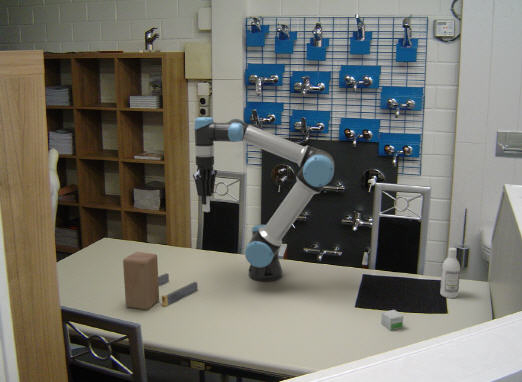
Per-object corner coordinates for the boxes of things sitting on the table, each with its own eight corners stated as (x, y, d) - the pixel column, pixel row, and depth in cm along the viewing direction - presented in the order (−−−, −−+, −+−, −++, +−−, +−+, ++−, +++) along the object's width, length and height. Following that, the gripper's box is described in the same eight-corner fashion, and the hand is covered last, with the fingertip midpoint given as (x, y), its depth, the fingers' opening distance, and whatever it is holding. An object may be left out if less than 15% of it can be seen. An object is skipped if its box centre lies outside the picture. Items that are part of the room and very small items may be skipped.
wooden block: (147, 311, 209) (144, 261, 205) (124, 307, 212) (121, 258, 208) (160, 300, 218) (158, 253, 214) (138, 297, 221) (135, 250, 217)
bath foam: (461, 297, 221) (465, 250, 217) (447, 299, 219) (451, 252, 214) (450, 290, 228) (454, 245, 223) (436, 293, 225) (440, 247, 221)
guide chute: (197, 290, 228) (197, 281, 227) (165, 306, 213) (165, 297, 212) (166, 280, 238) (165, 272, 237) (133, 295, 223) (132, 286, 222)
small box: (389, 331, 193) (390, 318, 192) (380, 324, 199) (381, 311, 197) (403, 328, 196) (404, 315, 194) (393, 321, 201) (394, 309, 200)
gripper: (208, 152, 230) (209, 206, 235) (187, 156, 219) (188, 213, 225) (221, 154, 225) (223, 209, 231) (201, 158, 215) (202, 216, 220)
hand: (206, 211), depth 228 cm, fingers closed
